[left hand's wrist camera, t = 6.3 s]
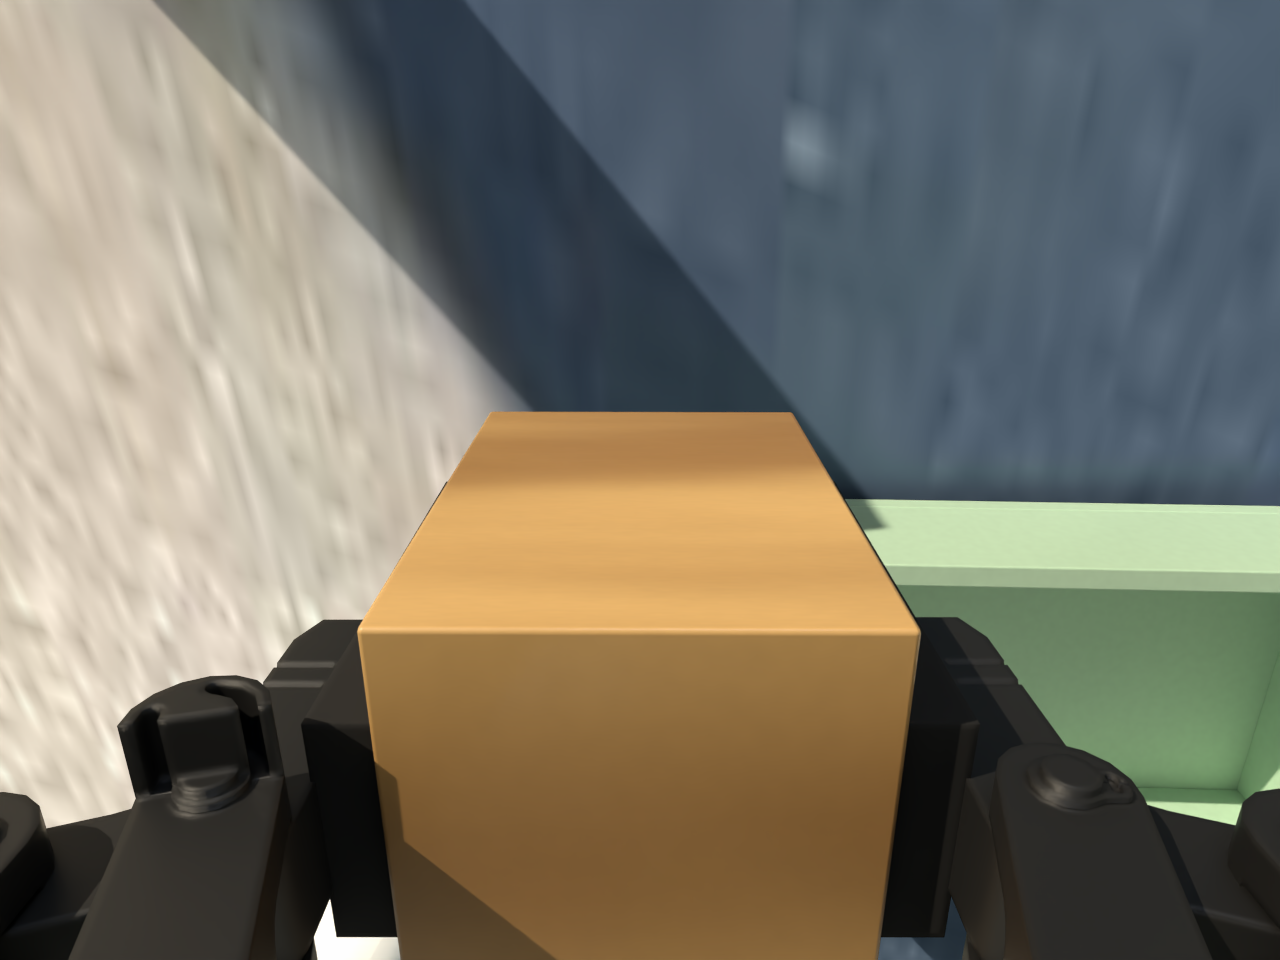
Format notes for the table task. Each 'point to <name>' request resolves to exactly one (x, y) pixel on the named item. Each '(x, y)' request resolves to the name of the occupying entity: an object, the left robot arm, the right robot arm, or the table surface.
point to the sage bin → (1117, 627)
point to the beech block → (639, 698)
